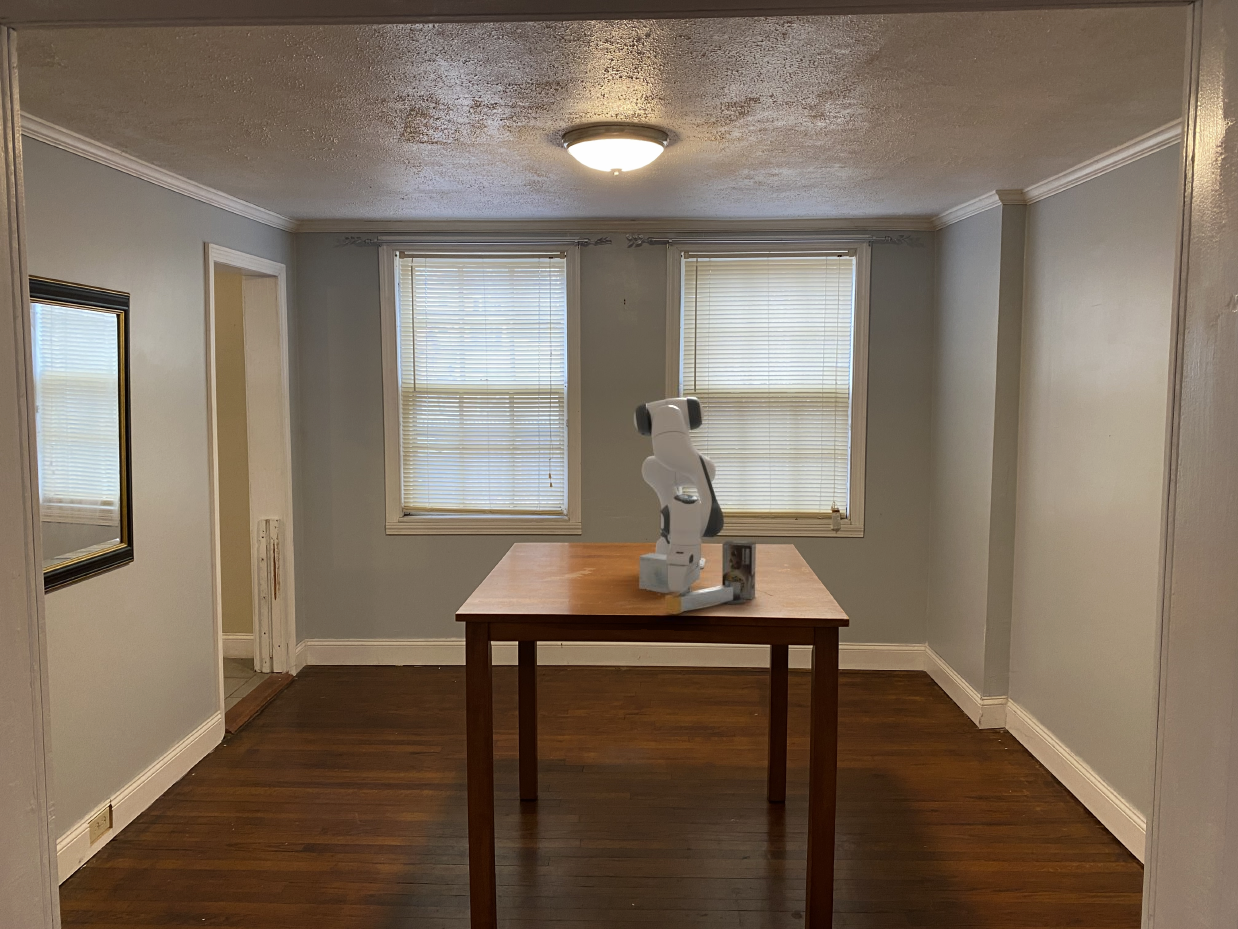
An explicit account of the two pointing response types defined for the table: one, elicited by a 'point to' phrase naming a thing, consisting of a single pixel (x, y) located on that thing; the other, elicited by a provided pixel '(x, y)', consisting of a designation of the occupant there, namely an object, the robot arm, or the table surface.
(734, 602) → the hinge base
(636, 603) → the table surface
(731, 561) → the coffee box
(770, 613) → the table surface
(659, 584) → the skincare box
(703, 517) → the robot arm
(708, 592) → the grey long bar
